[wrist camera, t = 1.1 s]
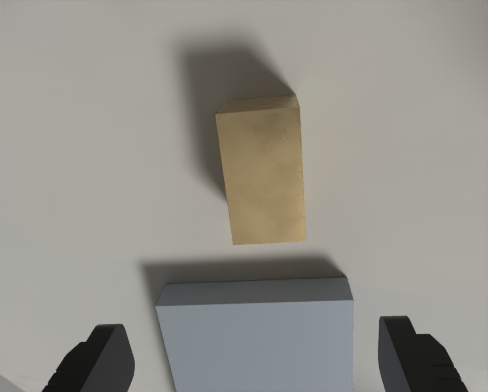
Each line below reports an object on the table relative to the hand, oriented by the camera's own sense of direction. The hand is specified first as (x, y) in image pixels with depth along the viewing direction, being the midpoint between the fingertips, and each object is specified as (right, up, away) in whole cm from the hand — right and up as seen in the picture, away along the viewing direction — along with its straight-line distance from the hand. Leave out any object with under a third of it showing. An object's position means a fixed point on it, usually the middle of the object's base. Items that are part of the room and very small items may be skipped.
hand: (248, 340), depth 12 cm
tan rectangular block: (+2, +7, +16) cm, 18 cm away
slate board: (+2, -10, +24) cm, 26 cm away
